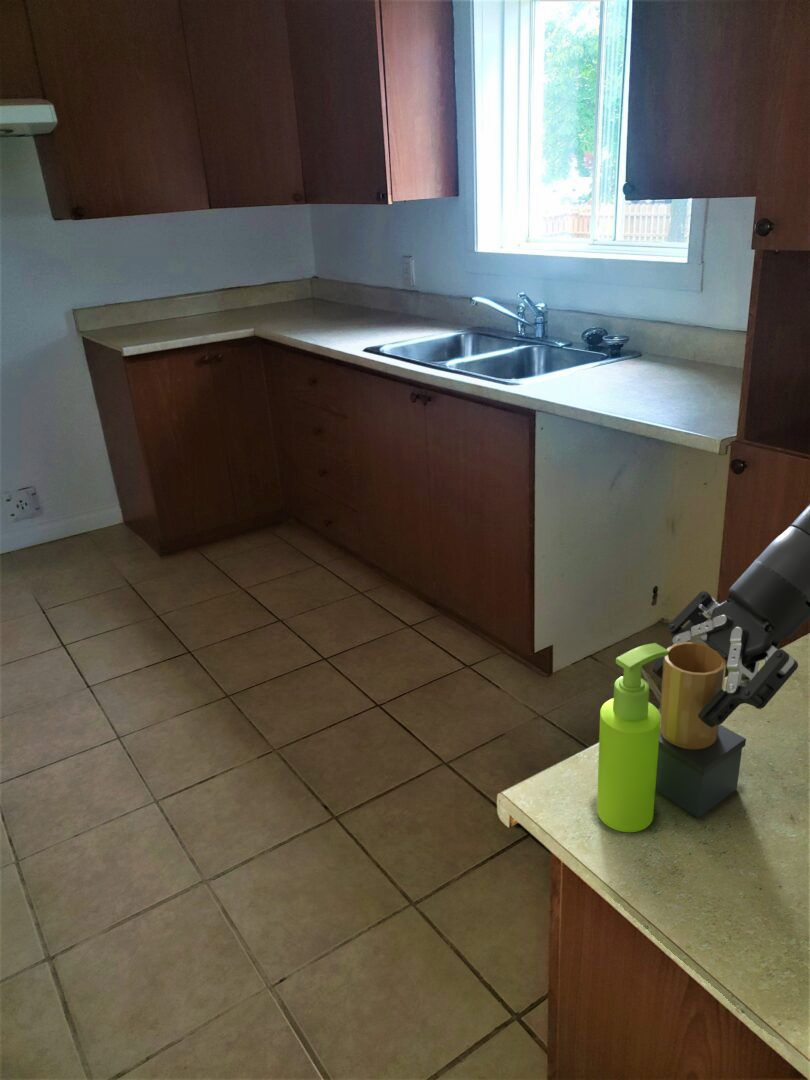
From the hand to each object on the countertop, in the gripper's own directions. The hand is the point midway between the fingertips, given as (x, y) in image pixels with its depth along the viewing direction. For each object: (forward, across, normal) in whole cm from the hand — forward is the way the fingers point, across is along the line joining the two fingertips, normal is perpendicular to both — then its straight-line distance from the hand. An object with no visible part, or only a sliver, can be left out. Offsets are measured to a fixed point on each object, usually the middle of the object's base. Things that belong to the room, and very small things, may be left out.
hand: (680, 698), depth 86 cm
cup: (+2, 0, +4) cm, 5 cm away
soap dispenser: (+13, +2, +4) cm, 14 cm away
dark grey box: (+7, 0, +9) cm, 12 cm away
